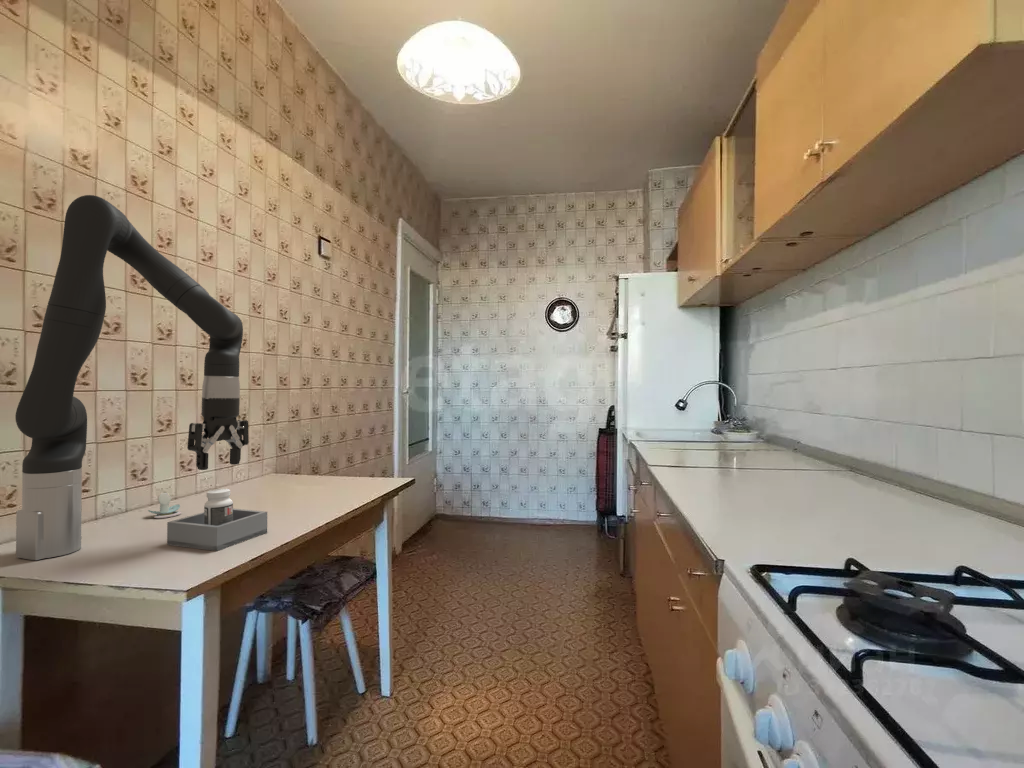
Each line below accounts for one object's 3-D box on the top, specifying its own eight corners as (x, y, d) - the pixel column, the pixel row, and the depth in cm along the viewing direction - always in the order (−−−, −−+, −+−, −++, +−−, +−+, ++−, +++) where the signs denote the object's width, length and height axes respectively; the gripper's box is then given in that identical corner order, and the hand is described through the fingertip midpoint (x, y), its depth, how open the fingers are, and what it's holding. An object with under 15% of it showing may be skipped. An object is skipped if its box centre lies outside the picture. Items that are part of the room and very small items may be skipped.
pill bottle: (238, 530, 117) (238, 488, 117) (222, 538, 112) (222, 493, 112) (215, 530, 118) (215, 488, 118) (198, 537, 112) (198, 493, 112)
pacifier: (186, 515, 136) (175, 511, 139) (187, 492, 136) (175, 489, 139) (156, 521, 130) (145, 517, 133) (157, 497, 130) (145, 494, 133)
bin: (217, 551, 106) (217, 527, 106) (167, 544, 110) (167, 522, 110) (267, 532, 119) (267, 511, 119) (221, 527, 123) (221, 507, 123)
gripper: (233, 395, 123) (231, 461, 123) (180, 396, 109) (177, 470, 109) (258, 396, 121) (256, 463, 120) (206, 396, 107) (204, 472, 107)
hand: (219, 466), depth 115 cm, fingers open, 8 cm apart
